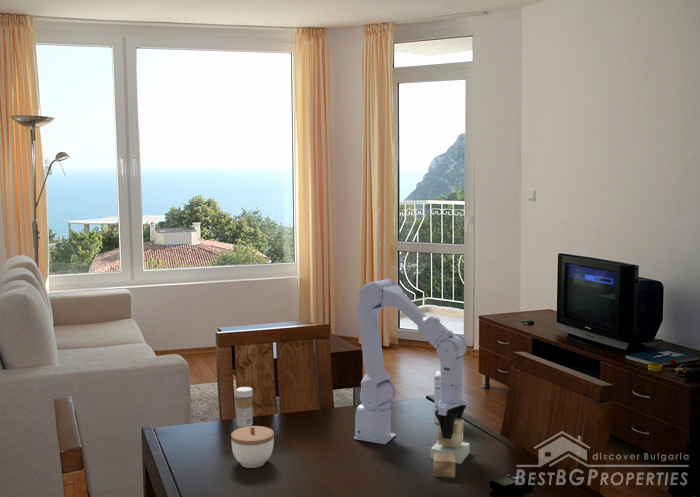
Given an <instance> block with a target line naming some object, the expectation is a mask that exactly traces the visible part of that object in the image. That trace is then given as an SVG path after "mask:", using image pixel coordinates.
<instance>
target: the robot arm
mask: <svg viewBox="0 0 700 497" xmlns="http://www.w3.org/2000/svg"><path fill="white" fill-rule="evenodd" d="M358 292H359V293H358V294H359V299H358V300H359V301H358V304H357V308H356V315H357V321H358V330H359V331H358V332H359V335H360V345H361V351H362V358H363V365H364V366H363V367H364V372H365V373H364V375H363V377H362V380H361V382H360V392H359V400H360V403H361V404H359V405H358V406H357V408H356V411H355V416H354V417H355V418H354V421H355V422H354V425H355V426H354V427H355V428H354V435H355V436H353V439H354V440H358V441H365V442H369V443H375V444H379V445H380V444H381V445H386V444H387V443H389V442H390V441H391V440H392V439H393V438H394V437H396V436H397V434H396V433H393V432H391V428H392V427H391V423H392V422H391V420H392V419H391V417H392V416H391V414H392V411H391V410H392V408H391V407H392V406H391V405H392V400H393V399H394V398H395V396H396V387H395V385H394V383H393V382H392V379H391V378H392V376H391V374H389V373H388V372H387V370H386V368H385V362H384V355H383V354H384V353H383V348H382V340H381V332H380V326H379V317H378V314H379V313H380V311H382V309H383V308H384V307H393V308H396V310H398V311H400V313H402V314H403V315H404V316H405V317H407V319H409V320H410V321H412V322H413V323H414V324H415V325H416V326H417V332H418V333H419V335H421V336H422V337H423V338H424V339H425V340H426V341H427V342H428V343H429V344H430V345H431V346H433V348H435V350H436V354H437V357H438V359H439V360H440V361H439V362H440V365H439V366H440V370H439V371H440V399H439V407H438V409H437V410H436V411H435V416H436V417H437V419H438V421H439V423H438V425H439V424H440V428H441V432H442V436H443V438H446V439H451V437H452V433H453V426H454V422H455V419H456V418H459V419H463V414H464V412H465V410H466V408H467V403H468V401H467V400H464V393H463V385H464V383H463V381H464V380H463V379H464V376H463V374H464V355H465V354H466V352H467V351H468V347H467V342H466V340H465V339H464V338H463V336H462V335H460V334H454V332H453V331H452V330H449V329H448V328H447V327H446V326H444V325H443V323H441V319H440V318H439V317H438V316H436V317H435V316H433V315H426V314H425V313H424V312H423V311H422V310H421V309H420V308H419V307H418V305H416V303H414V301H412V300H411V299H410V297H409V296H408V295H407V294H406V293H405V292H404V291H403V288H402V287H401V286H400V285H399V284H397V283H396V282H395V281H394V280H393V279H391V278H384V279H382V280H377V281H370V282H366V283H365V284H364V285H363V286H362V287H361V288H360V290H359V291H358Z"/></svg>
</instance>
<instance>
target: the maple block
mask: <svg viewBox="0 0 700 497" xmlns="http://www.w3.org/2000/svg"><path fill="white" fill-rule="evenodd" d="M437 436H438V437H437V438H438V439H437V441H438V445H444V446H449V447H455V448H457V447H458V446H459V445H460V444H461V443H462V442H464V419H463V418H461V419H459V418H456V419H455V422H454V426H453V433H452V437H451V439H446V438H443V436H442V432H441V428H440V424H439V423H438V435H437Z"/></svg>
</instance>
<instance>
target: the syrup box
mask: <svg viewBox="0 0 700 497" xmlns="http://www.w3.org/2000/svg"><path fill="white" fill-rule="evenodd" d="M433 379H434V380H433V382H434V385H433V386H434V388H433V389H434V390H433V393H434V394H433V395H434V397H433V400H434V401H433V402H434V404H433V405H434V407H433V409H434V410H433V412H434V414H433V415H434V420H433V421H434V423H435V424H439V421H438V419H437V417H436V416H435V411H436V410H437V409H438V407H439V399H440V370H436V371H435V373H434V377H433Z"/></svg>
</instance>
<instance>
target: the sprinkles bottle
mask: <svg viewBox="0 0 700 497" xmlns="http://www.w3.org/2000/svg"><path fill="white" fill-rule="evenodd" d="M235 397H236V430H237V429H239V428H243V427H249V426H253V421H254V420H253V415H254V414H253V388H252V387H250V386H240V387H238V388H236V389H235Z"/></svg>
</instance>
